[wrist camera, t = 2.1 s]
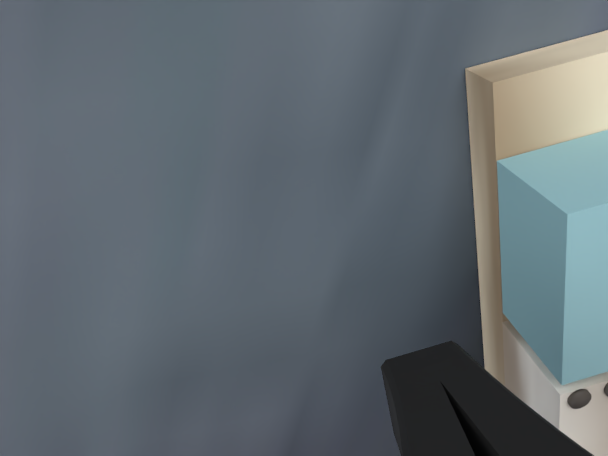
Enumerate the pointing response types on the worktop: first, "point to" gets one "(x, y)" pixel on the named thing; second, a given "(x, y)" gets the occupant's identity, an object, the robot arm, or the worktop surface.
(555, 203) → the stub
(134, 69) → the worktop surface
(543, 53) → the board
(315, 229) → the worktop surface
